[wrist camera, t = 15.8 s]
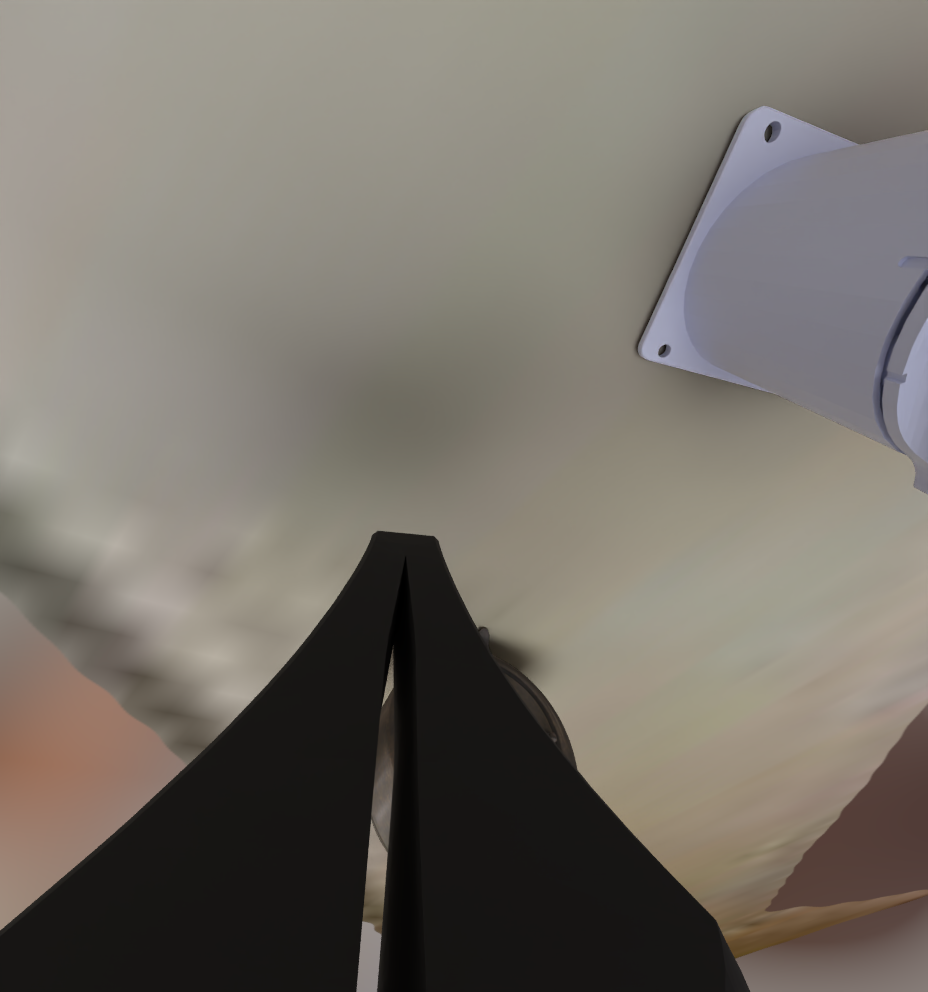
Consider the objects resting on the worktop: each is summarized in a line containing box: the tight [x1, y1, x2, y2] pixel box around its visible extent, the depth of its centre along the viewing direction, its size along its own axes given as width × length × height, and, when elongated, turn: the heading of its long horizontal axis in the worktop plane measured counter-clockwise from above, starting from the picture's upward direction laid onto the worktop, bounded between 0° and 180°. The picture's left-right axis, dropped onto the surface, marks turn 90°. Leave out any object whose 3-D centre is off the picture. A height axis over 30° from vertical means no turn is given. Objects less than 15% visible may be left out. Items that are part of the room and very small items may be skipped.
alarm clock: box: [371, 628, 577, 852], centre depth 20 cm, size 11×5×16 cm, turn 64°
